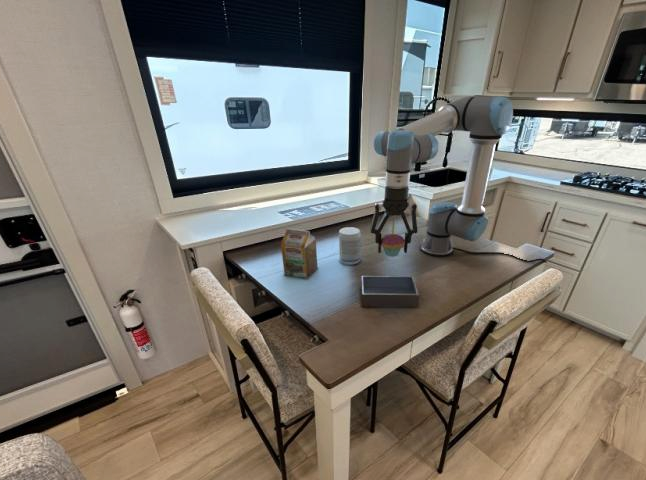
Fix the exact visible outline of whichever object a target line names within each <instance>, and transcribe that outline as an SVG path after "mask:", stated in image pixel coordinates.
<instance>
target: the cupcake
mask: <svg viewBox="0 0 646 480" xmlns="http://www.w3.org/2000/svg"><path fill="white" fill-rule="evenodd" d="M391 223H392V224H391V225H392V226H391V233H389V234H385V235H384V236H383V237H381V248H383V251H384V254H385V256H387V257H391V258H392V257H398V255H399V254H400V252H401V249H404V245H405V237H403V236H402V235H400V234H397V233H395V221H394V219H392V222H391Z"/></svg>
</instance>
